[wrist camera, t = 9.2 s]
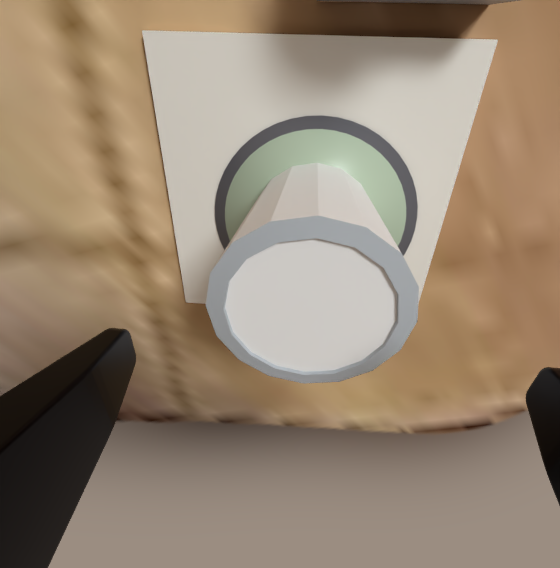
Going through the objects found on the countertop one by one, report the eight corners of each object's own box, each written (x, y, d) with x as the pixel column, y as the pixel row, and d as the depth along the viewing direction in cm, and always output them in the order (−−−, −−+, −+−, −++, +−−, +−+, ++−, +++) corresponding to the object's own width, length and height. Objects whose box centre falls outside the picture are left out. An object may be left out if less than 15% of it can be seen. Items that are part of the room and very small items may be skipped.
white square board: (187, 299, 22) (185, 303, 21) (145, 30, 14) (140, 30, 14) (412, 315, 21) (414, 320, 20) (494, 39, 13) (499, 39, 13)
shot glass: (366, 123, 15) (397, 182, 9) (399, 261, 18) (436, 366, 13) (217, 178, 17) (164, 257, 11) (272, 294, 20) (254, 399, 14)
